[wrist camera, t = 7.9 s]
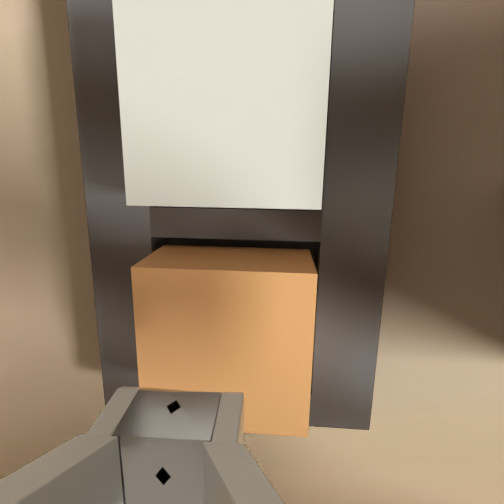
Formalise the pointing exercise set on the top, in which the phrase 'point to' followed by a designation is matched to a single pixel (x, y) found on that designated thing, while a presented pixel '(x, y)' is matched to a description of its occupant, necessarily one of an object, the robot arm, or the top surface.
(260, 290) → the key
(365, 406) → the dark grey tray
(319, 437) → the top surface
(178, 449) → the robot arm
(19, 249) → the top surface
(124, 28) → the key middle
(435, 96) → the top surface
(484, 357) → the top surface
